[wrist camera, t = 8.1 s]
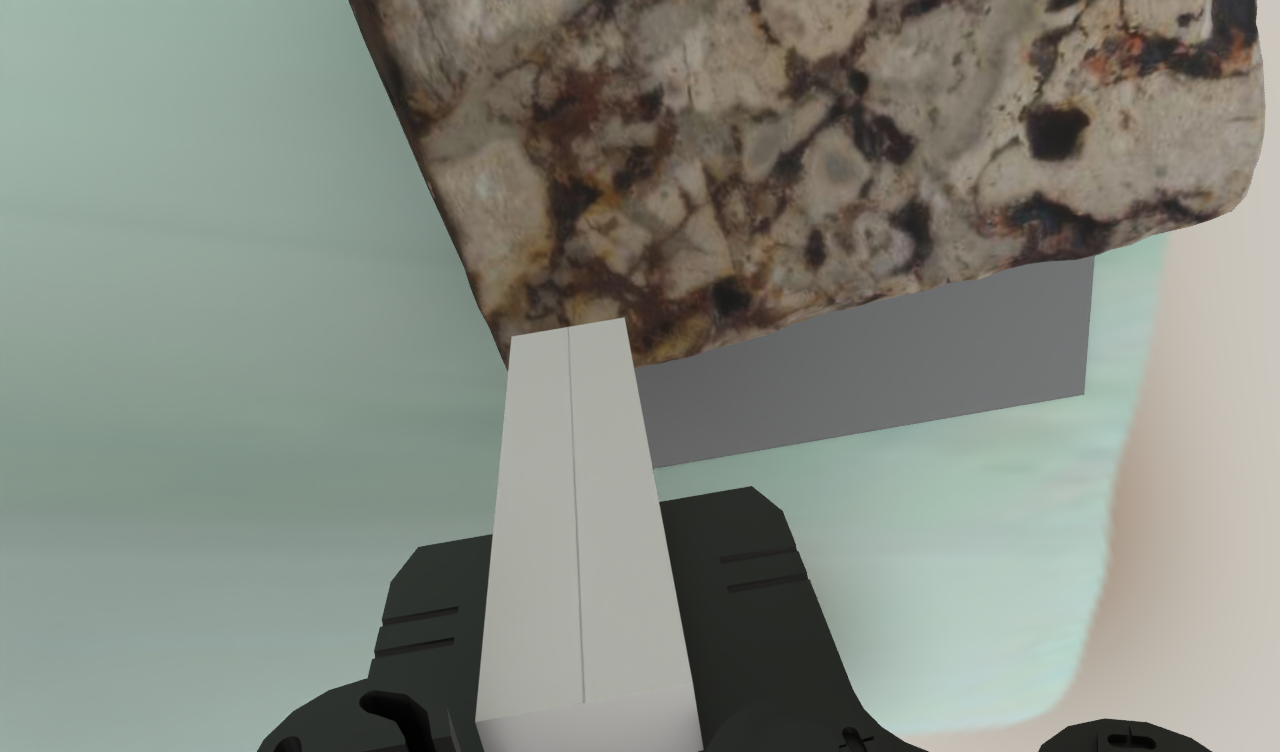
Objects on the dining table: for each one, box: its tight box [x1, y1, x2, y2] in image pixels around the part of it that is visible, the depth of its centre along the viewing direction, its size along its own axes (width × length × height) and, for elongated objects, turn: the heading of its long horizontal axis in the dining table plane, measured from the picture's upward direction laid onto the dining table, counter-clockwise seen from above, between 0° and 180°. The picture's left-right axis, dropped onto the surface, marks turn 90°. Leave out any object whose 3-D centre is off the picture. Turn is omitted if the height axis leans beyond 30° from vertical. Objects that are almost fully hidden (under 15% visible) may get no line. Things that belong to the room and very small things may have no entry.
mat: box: [634, 256, 1094, 469], centre depth 27 cm, size 18×22×1 cm
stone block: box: [349, 0, 1265, 371], centre depth 24 cm, size 13×7×20 cm
